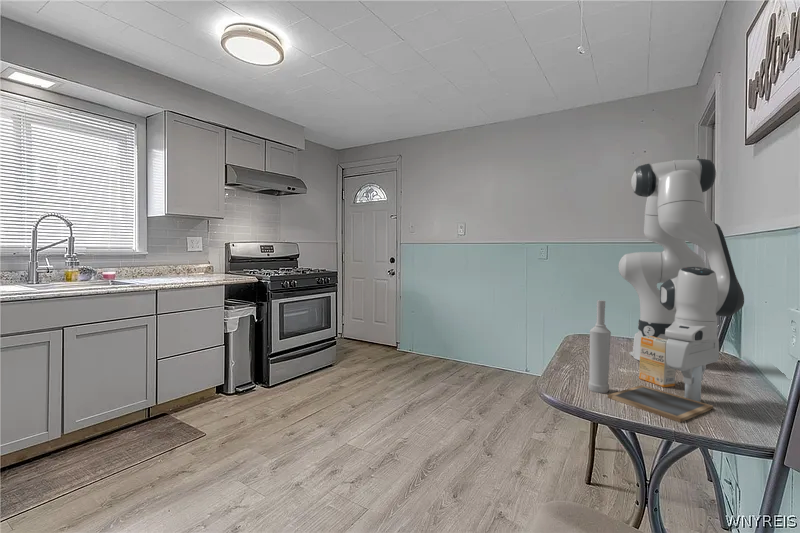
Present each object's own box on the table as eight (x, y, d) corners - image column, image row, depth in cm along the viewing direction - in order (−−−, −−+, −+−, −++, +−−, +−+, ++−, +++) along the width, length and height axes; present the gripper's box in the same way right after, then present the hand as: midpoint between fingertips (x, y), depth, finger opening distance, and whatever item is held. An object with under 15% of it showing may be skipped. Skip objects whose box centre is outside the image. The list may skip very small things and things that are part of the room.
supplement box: (637, 378, 118) (639, 336, 118) (649, 377, 120) (651, 335, 119) (663, 387, 110) (665, 342, 110) (676, 386, 112) (677, 341, 111)
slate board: (641, 387, 110) (641, 385, 110) (713, 409, 95) (713, 405, 95) (607, 397, 102) (607, 394, 102) (680, 422, 87) (680, 418, 87)
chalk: (688, 396, 104) (689, 352, 103) (703, 400, 101) (704, 355, 100) (681, 398, 102) (683, 353, 102) (696, 403, 99) (698, 356, 99)
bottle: (592, 385, 112) (594, 299, 111) (611, 390, 108) (614, 300, 107) (585, 389, 108) (587, 300, 107) (605, 394, 104) (608, 302, 103)
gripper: (700, 324, 109) (698, 373, 109) (661, 330, 98) (659, 384, 99) (727, 328, 103) (725, 379, 104) (689, 335, 93) (687, 392, 93)
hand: (693, 382), depth 101 cm, fingers closed on chalk, 3 cm apart
